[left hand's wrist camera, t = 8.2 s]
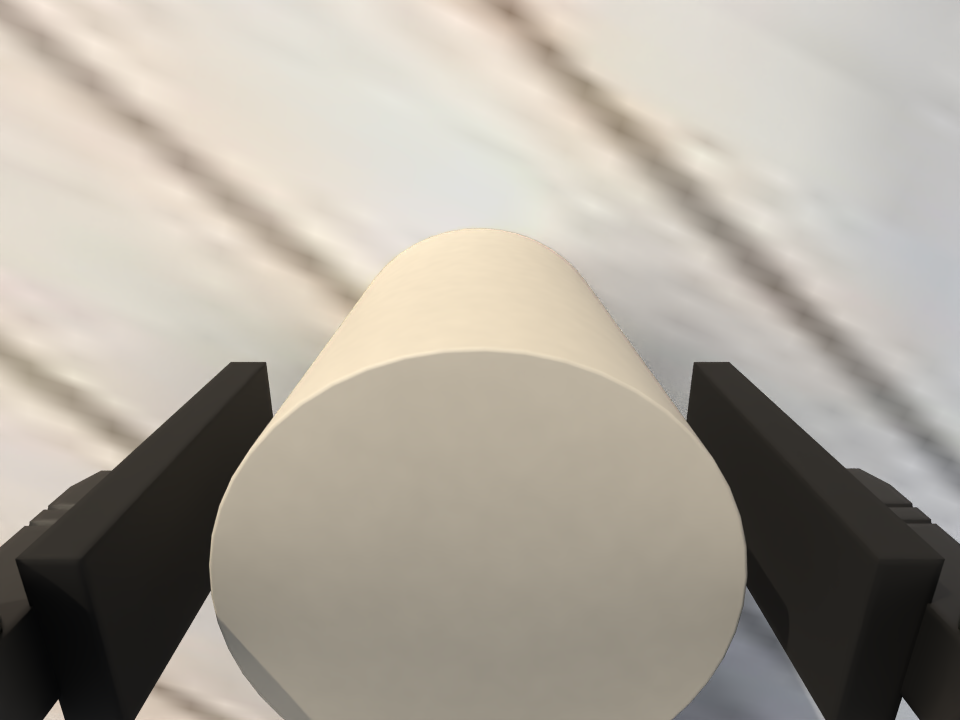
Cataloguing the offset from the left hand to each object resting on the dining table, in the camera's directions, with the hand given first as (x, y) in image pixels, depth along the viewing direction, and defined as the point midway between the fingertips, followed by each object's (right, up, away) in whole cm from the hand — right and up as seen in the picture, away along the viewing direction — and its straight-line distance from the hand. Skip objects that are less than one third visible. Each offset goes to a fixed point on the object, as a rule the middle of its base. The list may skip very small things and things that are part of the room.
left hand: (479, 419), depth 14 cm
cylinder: (0, +1, +4) cm, 4 cm away
